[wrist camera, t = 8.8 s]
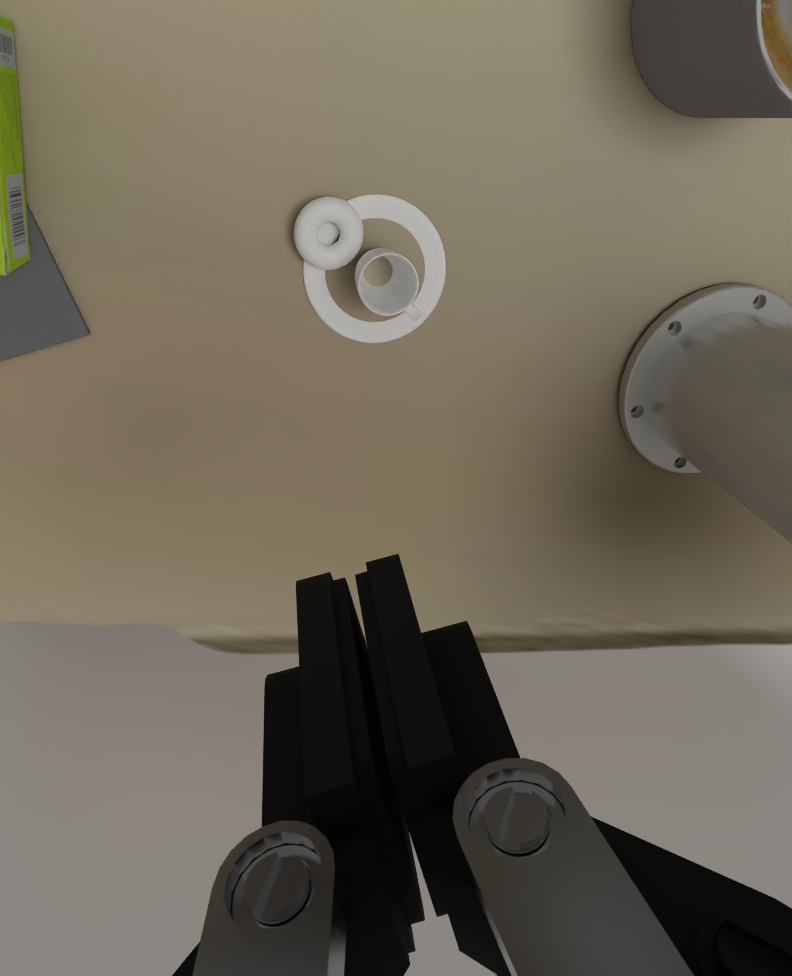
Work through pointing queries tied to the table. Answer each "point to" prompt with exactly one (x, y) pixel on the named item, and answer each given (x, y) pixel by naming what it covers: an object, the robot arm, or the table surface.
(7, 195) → the box
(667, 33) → the coffee mug
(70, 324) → the mat
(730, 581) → the table surface
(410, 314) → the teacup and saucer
